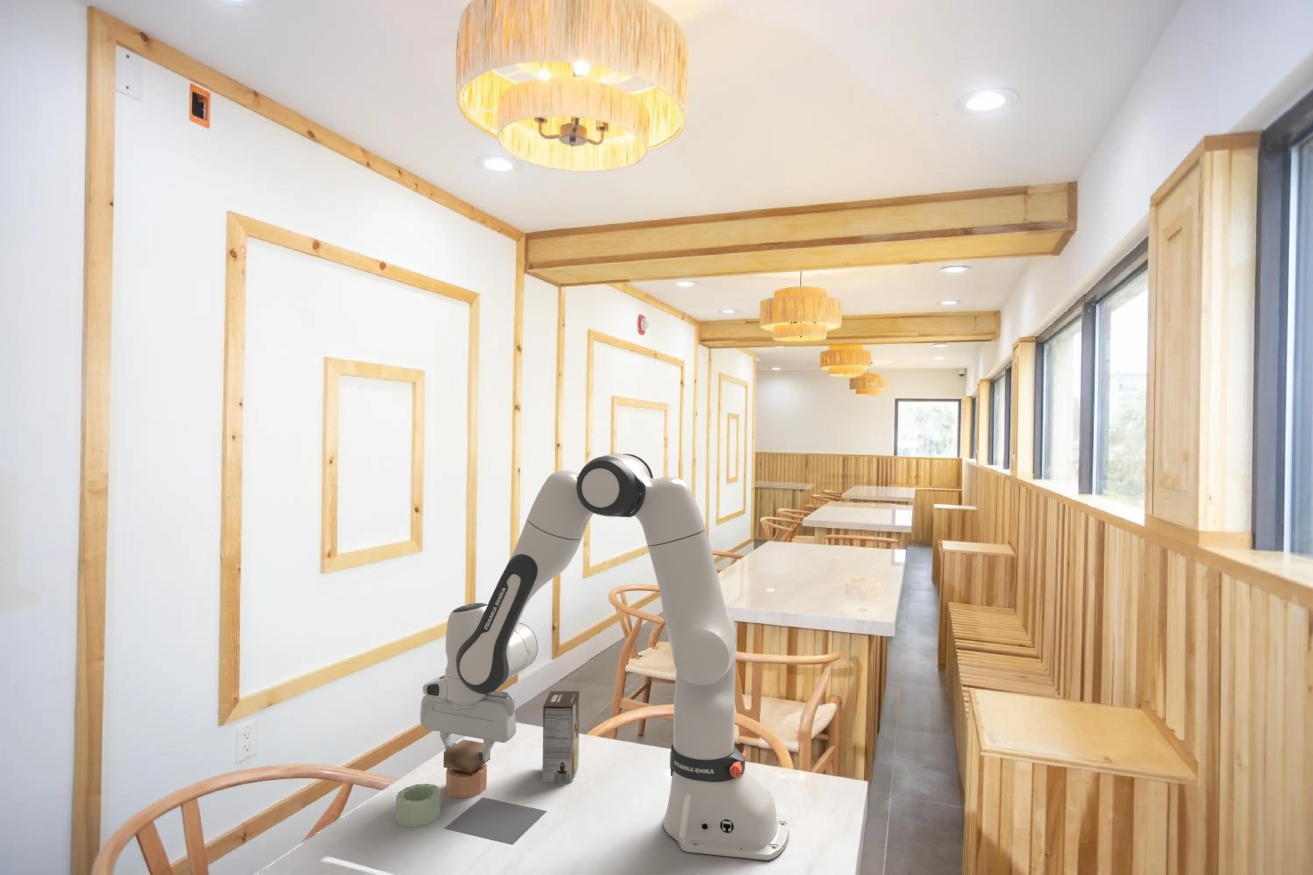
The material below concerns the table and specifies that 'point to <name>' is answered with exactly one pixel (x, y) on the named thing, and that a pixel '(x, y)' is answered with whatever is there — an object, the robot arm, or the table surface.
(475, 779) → the bowl terracotta
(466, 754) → the cardboard box
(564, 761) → the coffee box
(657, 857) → the table surface
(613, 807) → the table surface
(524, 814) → the mat
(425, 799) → the bowl sage
